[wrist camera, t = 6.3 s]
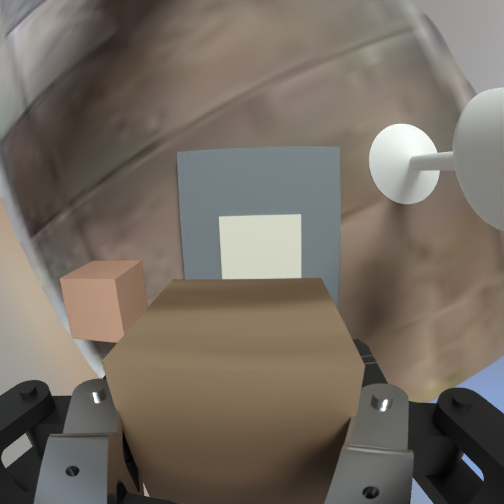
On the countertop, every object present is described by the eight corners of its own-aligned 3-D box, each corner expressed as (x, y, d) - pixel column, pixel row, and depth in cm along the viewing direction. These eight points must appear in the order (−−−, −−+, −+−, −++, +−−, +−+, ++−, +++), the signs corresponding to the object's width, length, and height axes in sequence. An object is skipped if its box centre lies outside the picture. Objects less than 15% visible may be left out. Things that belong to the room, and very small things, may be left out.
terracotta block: (93, 260, 27) (59, 278, 21) (142, 259, 27) (114, 279, 21) (101, 312, 28) (72, 338, 22) (149, 314, 28) (126, 343, 22)
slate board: (181, 153, 24) (176, 152, 23) (336, 148, 24) (339, 146, 22) (195, 341, 28) (192, 349, 26) (332, 339, 27) (335, 347, 26)
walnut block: (173, 279, 11) (101, 361, 6) (321, 277, 11) (364, 365, 5) (189, 395, 12) (152, 501, 7) (313, 397, 12) (332, 508, 6)
